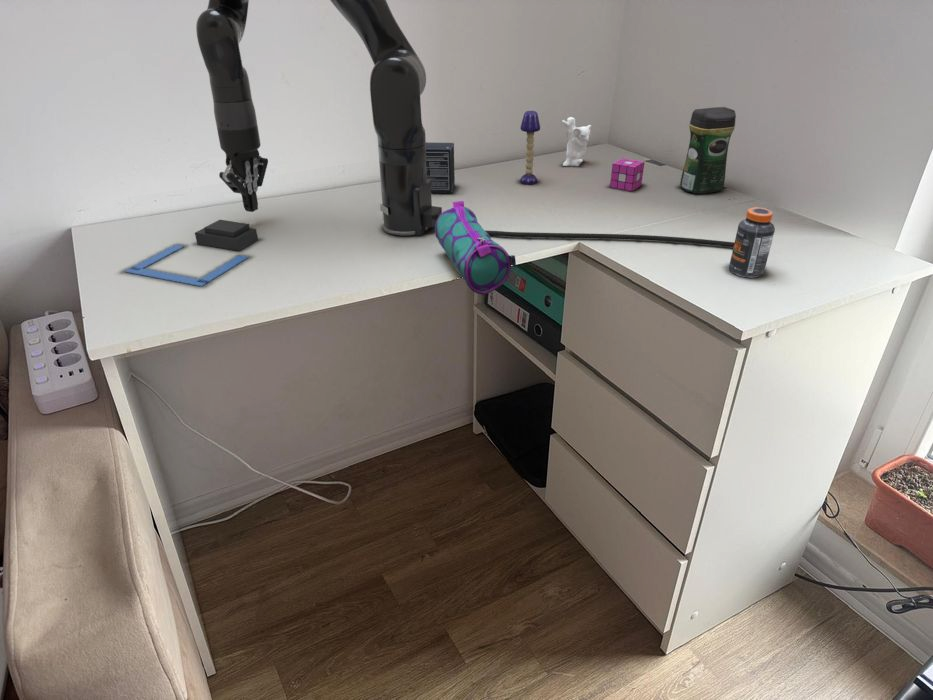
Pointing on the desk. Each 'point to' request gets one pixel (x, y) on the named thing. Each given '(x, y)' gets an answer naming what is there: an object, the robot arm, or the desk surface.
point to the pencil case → (472, 250)
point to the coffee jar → (708, 149)
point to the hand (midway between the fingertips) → (251, 210)
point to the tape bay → (177, 278)
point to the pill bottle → (752, 243)
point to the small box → (440, 166)
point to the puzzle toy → (627, 174)
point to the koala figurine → (576, 142)
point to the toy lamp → (529, 144)
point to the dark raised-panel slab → (227, 235)
